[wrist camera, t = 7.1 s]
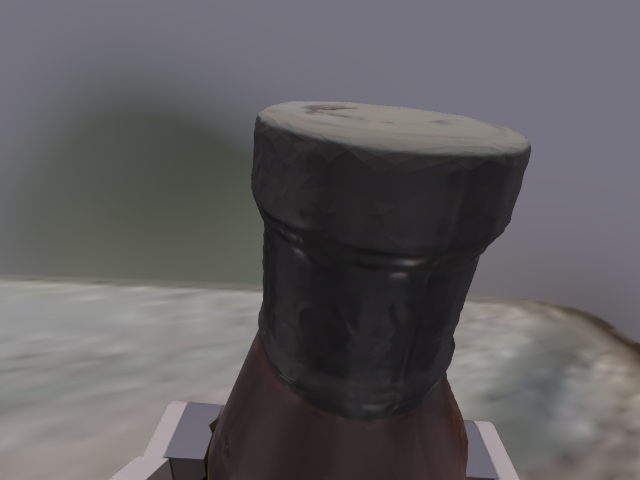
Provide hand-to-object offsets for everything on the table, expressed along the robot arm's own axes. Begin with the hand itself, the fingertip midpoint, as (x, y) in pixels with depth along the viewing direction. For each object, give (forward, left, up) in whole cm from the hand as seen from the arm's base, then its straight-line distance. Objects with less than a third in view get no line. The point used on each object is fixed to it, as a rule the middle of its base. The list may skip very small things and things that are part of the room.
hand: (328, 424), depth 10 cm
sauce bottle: (+1, -1, -11) cm, 11 cm away
